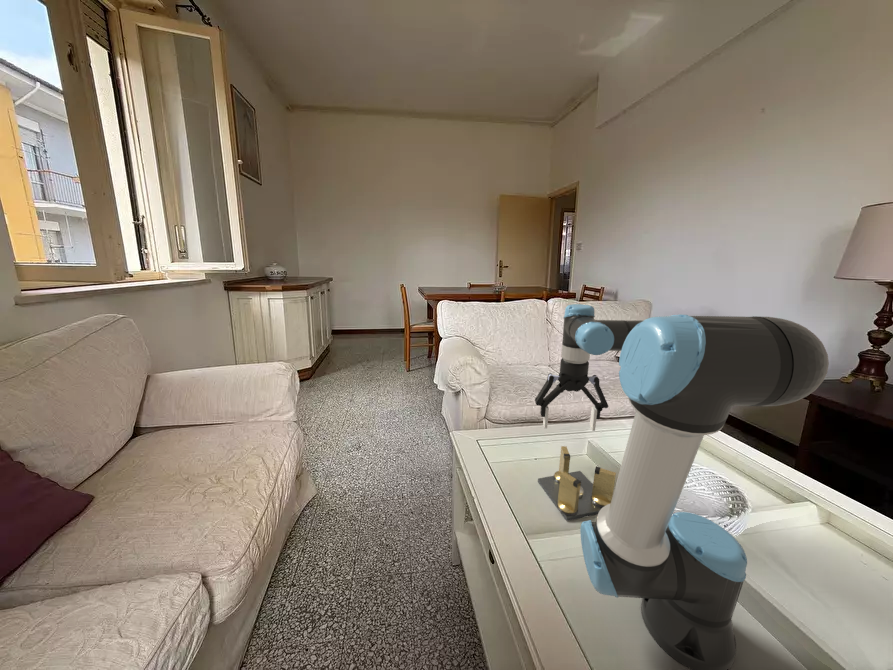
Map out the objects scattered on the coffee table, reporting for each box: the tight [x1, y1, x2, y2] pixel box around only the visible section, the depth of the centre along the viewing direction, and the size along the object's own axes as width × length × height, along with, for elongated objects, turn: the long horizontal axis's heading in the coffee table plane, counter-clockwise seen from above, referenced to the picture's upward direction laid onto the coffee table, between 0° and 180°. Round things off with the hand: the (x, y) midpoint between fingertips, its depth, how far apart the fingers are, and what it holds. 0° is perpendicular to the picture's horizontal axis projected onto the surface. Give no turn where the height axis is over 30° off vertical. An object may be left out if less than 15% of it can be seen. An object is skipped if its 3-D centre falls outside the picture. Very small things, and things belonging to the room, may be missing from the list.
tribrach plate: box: [537, 470, 604, 522], centre depth 102 cm, size 17×17×2 cm
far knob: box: [553, 445, 571, 482], centre depth 105 cm, size 5×5×10 cm
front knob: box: [558, 472, 581, 514], centre depth 94 cm, size 5×5×10 cm
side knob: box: [592, 466, 617, 506], centre depth 96 cm, size 5×5×10 cm
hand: (568, 427), depth 101 cm, fingers open, 13 cm apart
